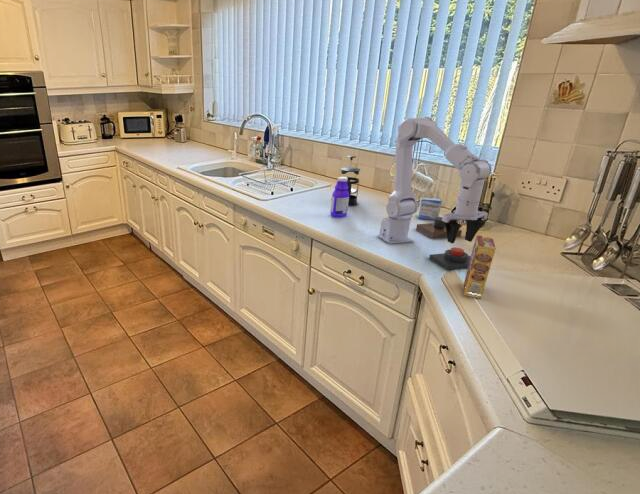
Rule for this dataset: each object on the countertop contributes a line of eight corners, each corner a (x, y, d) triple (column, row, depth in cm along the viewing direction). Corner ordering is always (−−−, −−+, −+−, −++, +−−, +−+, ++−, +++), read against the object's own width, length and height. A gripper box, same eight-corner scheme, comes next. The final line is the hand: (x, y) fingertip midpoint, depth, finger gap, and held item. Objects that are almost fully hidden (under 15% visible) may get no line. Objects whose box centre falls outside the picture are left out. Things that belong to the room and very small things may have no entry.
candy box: (482, 299, 107) (496, 248, 101) (464, 296, 109) (476, 245, 103) (480, 285, 114) (493, 237, 108) (463, 282, 116) (475, 234, 110)
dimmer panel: (432, 239, 148) (433, 232, 147) (415, 230, 157) (416, 223, 156) (460, 236, 150) (462, 230, 149) (442, 227, 159) (443, 221, 158)
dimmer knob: (437, 229, 150) (439, 219, 149) (430, 225, 154) (432, 216, 152) (447, 228, 151) (449, 219, 149) (440, 225, 154) (441, 215, 153)
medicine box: (417, 218, 170) (421, 199, 166) (417, 215, 173) (420, 196, 170) (438, 220, 167) (442, 201, 164) (437, 217, 171) (441, 198, 167)
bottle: (341, 213, 178) (345, 175, 171) (349, 217, 173) (353, 178, 166) (327, 215, 176) (331, 176, 169) (335, 219, 171) (338, 179, 164)
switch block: (447, 270, 123) (450, 260, 122) (428, 259, 131) (430, 249, 130) (481, 267, 125) (483, 257, 124) (460, 256, 133) (462, 246, 132)
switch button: (455, 257, 125) (456, 252, 125) (447, 252, 128) (448, 247, 128) (465, 256, 126) (466, 251, 125) (457, 251, 129) (458, 246, 128)
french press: (357, 206, 186) (363, 158, 178) (337, 205, 188) (341, 157, 180) (355, 200, 197) (361, 153, 188) (336, 199, 199) (340, 153, 190)
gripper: (457, 205, 115) (448, 248, 121) (499, 202, 118) (489, 244, 123) (440, 199, 122) (432, 239, 127) (481, 196, 124) (472, 236, 129)
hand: (459, 241), depth 125 cm, fingers open, 6 cm apart
